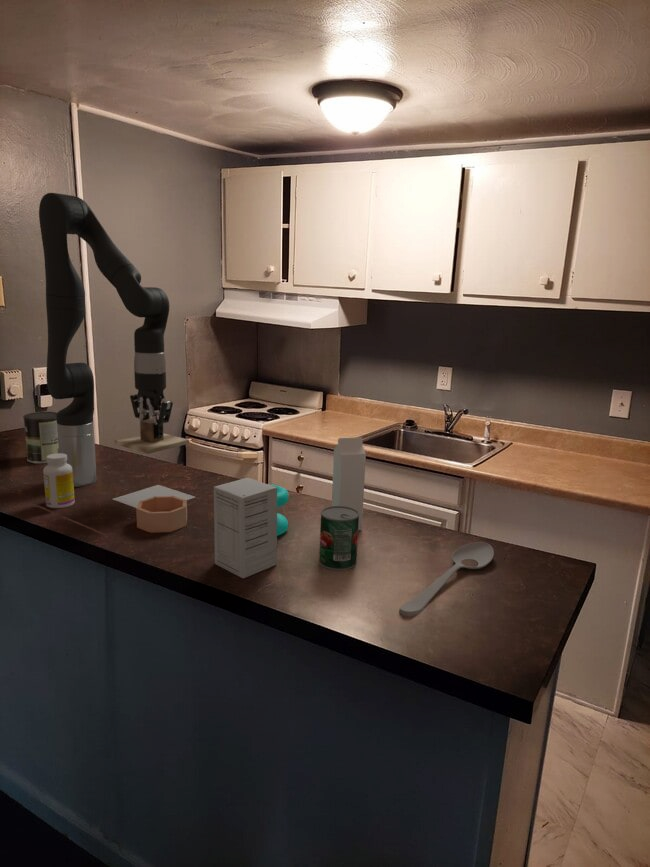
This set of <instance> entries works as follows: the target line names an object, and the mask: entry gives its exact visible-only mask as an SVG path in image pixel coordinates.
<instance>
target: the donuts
mask: <svg viewBox="0 0 650 867" xmlns="http://www.w3.org/2000/svg"><path fill="white" fill-rule="evenodd" d="M270 485H271V486H273V487H276V488H277V509H278V508H281V507H283V506H285V505H286V504H287V503H288V501H289V500H290V499H289V498H290V494H289V492H288V490H287V489H286V488H284V487H282V486H279V485H276V484H270ZM288 528H289V521H288V519H287V517H285V515H283V514H281V513H278V512H277V537H278V536H281V535H283V534H284V533H286V532H287V530H288Z"/></svg>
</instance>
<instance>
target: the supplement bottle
mask: <svg viewBox="0 0 650 867" xmlns="http://www.w3.org/2000/svg"><path fill="white" fill-rule="evenodd" d="M46 459H47V463H46V464H47V465H45V466H44V468H43V470H42V473H43V486H44V494H45V496H44V497H45V506H46V507H48V508H51V509H62V508H68V507H70V506H72V505H74V504H75V499H76V498H75V497H76V496H75V487H74V484H73V471H72V467H71V465H69V464H67V455H66V454H61V453H58V454H51V455H48V456H47V457H46Z"/></svg>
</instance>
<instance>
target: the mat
mask: <svg viewBox="0 0 650 867" xmlns="http://www.w3.org/2000/svg"><path fill="white" fill-rule="evenodd" d="M154 496H176V497H179V498H182V499H185V500H187V501H189V500H191V499H194V498H195V499H196V496H194V495H191V494H188V493H185V492H182V491H179V490H175V489H172V488H169V487H167V486H164V485H161V484H156V485H154V486H150V487H146V488H143V489H140V490H137V491H134V492H130V493H128V494H124V495H121V496H118V497H114V498H112V500H113V501H116V502H119V503H121V504H125V505H127V506H129V507H133V508H135V509H136V508H137V505H138V503H139V501H142V500H145V499H148V498H151V497H154Z"/></svg>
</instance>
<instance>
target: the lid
mask: <svg viewBox="0 0 650 867" xmlns="http://www.w3.org/2000/svg"><path fill="white" fill-rule="evenodd" d="M153 425H154V423H153V418H150V419H147V420H142V421H140V420H139V427H140V428H139V431H140V434H137V435H132V436H128V437H122V438H117V439H114V445H117V446H121V447H123V448H128V449H131V450H132V451H133V450H134V451H137V452H142V453H144V454H147V455H151V454H154V453H157V452H158V453H159V452H162V451H165V450H169V449H174V448H176V447H181V446H184V445H185V446H186V445H188V444H190V440H189V439H188V438H184V437H179V436H175V435H172V434H168V433H164V432H163V436H162V438H161V439H154V427H153Z"/></svg>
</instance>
